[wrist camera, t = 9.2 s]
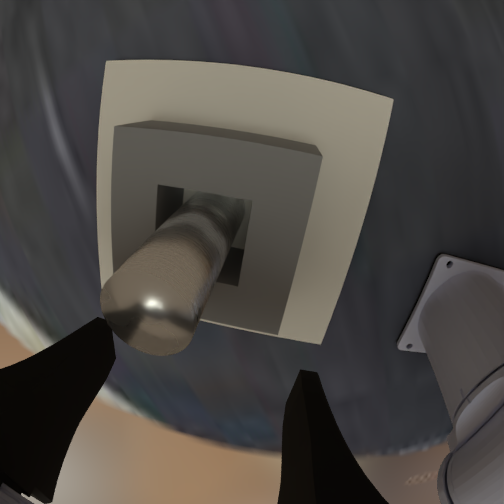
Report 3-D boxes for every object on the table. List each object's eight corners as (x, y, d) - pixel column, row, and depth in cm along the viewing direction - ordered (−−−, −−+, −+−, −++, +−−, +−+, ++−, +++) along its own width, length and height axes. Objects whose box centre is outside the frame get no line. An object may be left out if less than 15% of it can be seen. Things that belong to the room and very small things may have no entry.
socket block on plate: (388, 99, 15) (422, 97, 10) (320, 335, 22) (323, 388, 17) (114, 62, 15) (64, 55, 11) (108, 287, 22) (74, 326, 18)
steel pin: (250, 188, 17) (199, 288, 8) (239, 238, 18) (189, 366, 9) (196, 176, 17) (97, 260, 8) (189, 226, 18) (104, 338, 9)
